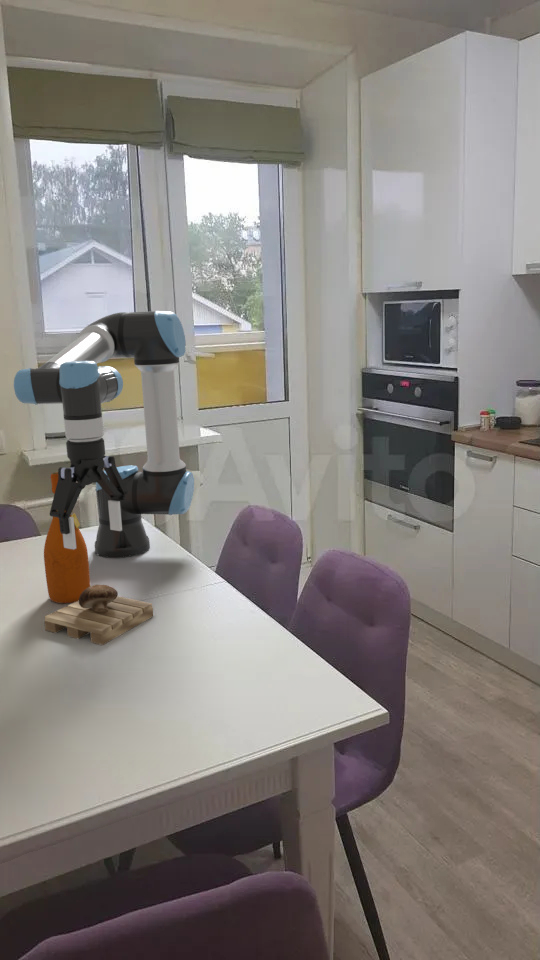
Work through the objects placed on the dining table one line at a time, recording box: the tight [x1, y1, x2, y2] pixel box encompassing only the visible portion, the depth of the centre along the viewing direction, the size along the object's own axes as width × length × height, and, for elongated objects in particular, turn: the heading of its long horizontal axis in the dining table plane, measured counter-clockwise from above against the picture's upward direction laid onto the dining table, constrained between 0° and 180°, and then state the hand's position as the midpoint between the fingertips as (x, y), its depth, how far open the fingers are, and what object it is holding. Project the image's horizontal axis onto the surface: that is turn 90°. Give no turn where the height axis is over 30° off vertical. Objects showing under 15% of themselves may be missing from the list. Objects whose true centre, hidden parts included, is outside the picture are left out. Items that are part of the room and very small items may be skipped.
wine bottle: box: [43, 471, 91, 604], centre depth 171 cm, size 10×10×30 cm
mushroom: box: [79, 584, 119, 612], centre depth 157 cm, size 8×8×6 cm
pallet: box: [44, 595, 154, 646], centre depth 159 cm, size 16×16×3 cm
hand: (94, 538), depth 155 cm, fingers open, 13 cm apart
